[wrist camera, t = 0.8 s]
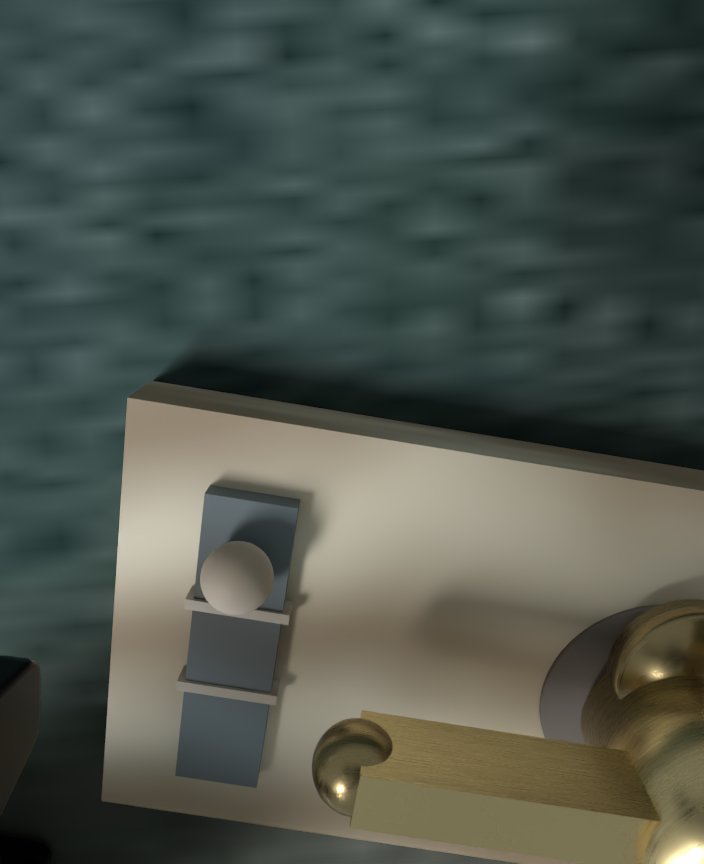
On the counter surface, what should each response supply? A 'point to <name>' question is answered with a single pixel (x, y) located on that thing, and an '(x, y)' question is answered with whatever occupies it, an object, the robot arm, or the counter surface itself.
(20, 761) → the robot arm
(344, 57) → the counter surface
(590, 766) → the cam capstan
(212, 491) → the latch board
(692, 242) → the counter surface
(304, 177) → the counter surface
